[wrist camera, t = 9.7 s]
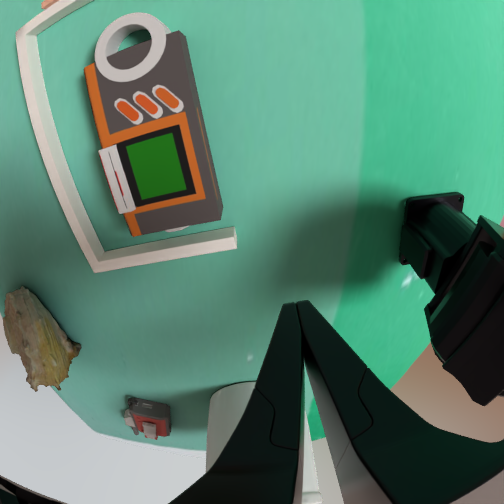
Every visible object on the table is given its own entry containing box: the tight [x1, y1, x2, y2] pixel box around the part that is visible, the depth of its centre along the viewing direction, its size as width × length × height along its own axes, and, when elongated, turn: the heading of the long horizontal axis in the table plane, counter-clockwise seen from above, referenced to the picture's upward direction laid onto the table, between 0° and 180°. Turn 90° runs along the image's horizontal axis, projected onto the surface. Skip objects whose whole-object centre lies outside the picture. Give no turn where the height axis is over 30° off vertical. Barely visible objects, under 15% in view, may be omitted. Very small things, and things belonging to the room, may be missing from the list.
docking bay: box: [16, 0, 237, 273], centre depth 15 cm, size 12×23×2 cm, turn 10°
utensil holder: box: [206, 382, 323, 504], centre depth 30 cm, size 15×15×18 cm
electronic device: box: [84, 13, 223, 237], centre depth 15 cm, size 7×3×15 cm
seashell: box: [3, 286, 81, 392], centre depth 24 cm, size 11×14×10 cm
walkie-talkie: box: [124, 398, 171, 440], centre depth 41 cm, size 9×4×20 cm
